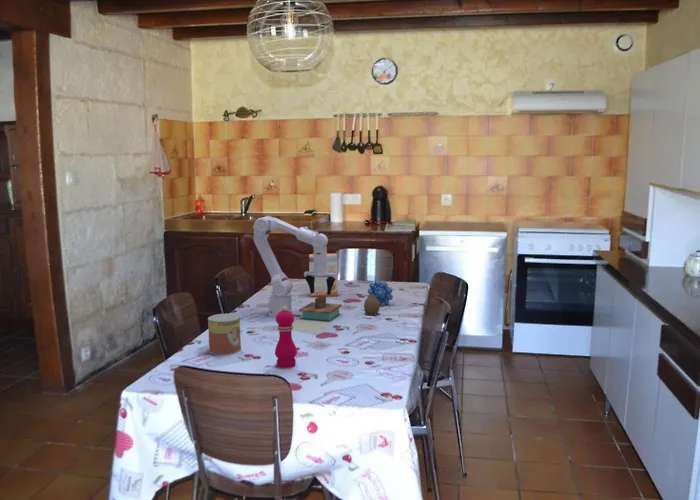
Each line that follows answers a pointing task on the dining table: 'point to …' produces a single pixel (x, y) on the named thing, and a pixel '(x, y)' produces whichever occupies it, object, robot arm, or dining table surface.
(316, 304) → the lid
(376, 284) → the grapes
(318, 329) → the mat
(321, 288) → the cracker box
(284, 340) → the pepper mill
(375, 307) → the brown egg-shaped piece
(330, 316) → the dish
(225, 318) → the canned food
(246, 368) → the dining table surface
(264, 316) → the dining table surface
